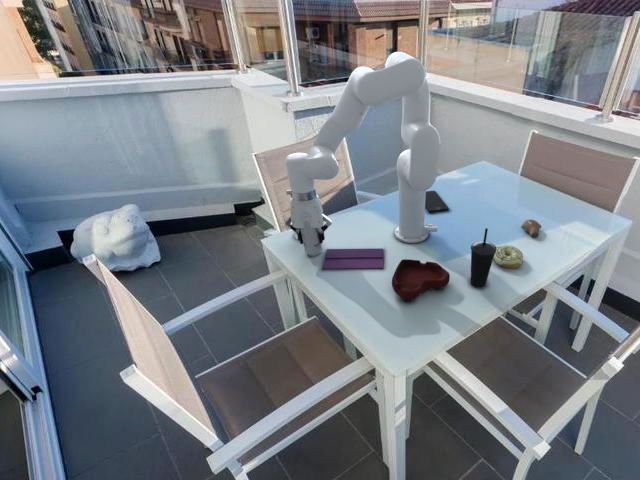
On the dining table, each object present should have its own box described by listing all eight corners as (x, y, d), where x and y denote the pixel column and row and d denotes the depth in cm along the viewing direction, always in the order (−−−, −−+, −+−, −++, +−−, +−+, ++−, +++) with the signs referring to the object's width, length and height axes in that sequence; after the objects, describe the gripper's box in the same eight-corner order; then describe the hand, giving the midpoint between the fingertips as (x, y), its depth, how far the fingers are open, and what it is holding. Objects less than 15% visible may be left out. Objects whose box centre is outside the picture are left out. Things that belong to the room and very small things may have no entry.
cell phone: (429, 213, 158) (429, 211, 158) (416, 194, 172) (416, 192, 171) (449, 210, 161) (449, 208, 160) (434, 192, 174) (434, 190, 173)
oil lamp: (515, 234, 148) (535, 241, 144) (517, 226, 145) (537, 233, 141) (526, 222, 153) (545, 229, 149) (527, 214, 150) (547, 221, 146)
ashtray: (424, 262, 131) (424, 250, 128) (453, 288, 120) (454, 276, 117) (378, 279, 124) (377, 267, 120) (405, 308, 113) (405, 296, 110)
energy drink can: (320, 257, 133) (314, 218, 124) (303, 256, 133) (295, 218, 124) (324, 247, 138) (318, 209, 129) (307, 247, 138) (300, 209, 129)
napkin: (383, 250, 137) (383, 248, 136) (382, 268, 128) (382, 266, 128) (326, 250, 136) (326, 249, 136) (322, 269, 128) (322, 267, 127)
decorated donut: (495, 270, 128) (496, 261, 126) (487, 252, 137) (489, 243, 134) (525, 269, 129) (527, 260, 126) (516, 251, 137) (518, 242, 135)
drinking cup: (491, 278, 125) (501, 224, 112) (487, 293, 119) (497, 238, 107) (468, 273, 127) (476, 220, 114) (463, 287, 121) (470, 232, 109)
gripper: (273, 199, 119) (284, 248, 130) (329, 198, 119) (336, 247, 130) (278, 188, 124) (289, 236, 136) (332, 188, 125) (338, 235, 136)
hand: (312, 241), depth 133 cm, fingers closed on energy drink can, 6 cm apart
